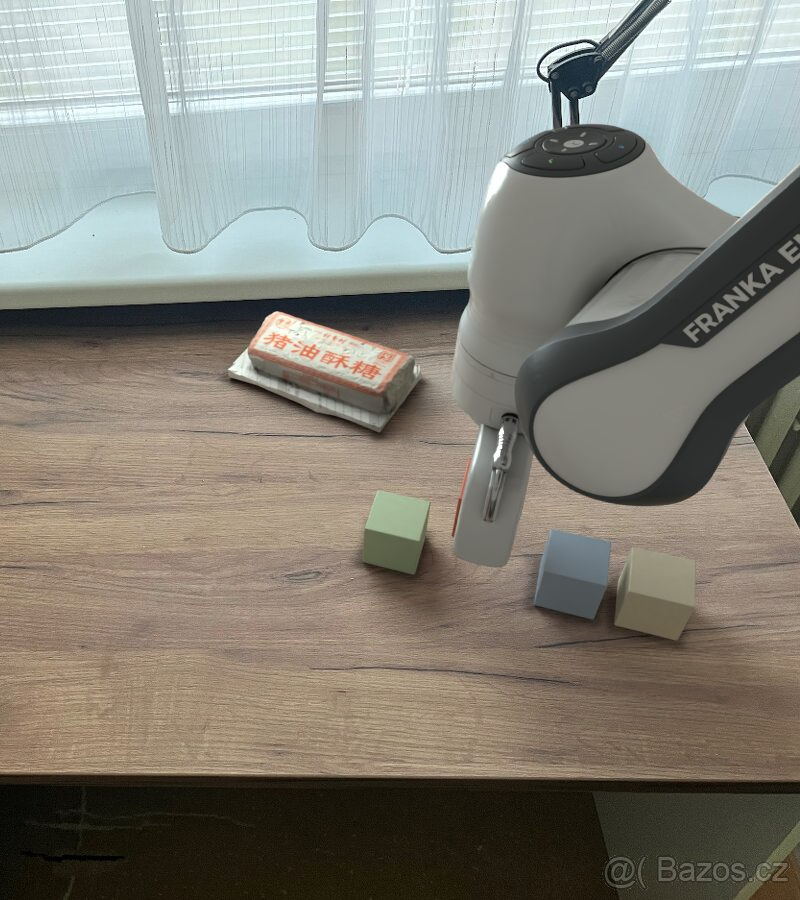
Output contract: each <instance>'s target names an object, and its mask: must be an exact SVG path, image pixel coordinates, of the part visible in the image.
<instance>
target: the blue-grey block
mask: <svg viewBox="0 0 800 900" xmlns="http://www.w3.org/2000/svg"><path fill="white" fill-rule="evenodd" d="M611 548H612V541H610V540H604V539H600V538H595V537H590V536H586V535H581V534H577V533H573V532H569V531H564V530H560V529H555V528H550V530H549V533H548V536H547V540H546V544H545V547H544V550H543V553H542V557H541V560H540V563H539V569H538V575H537V576H538V577H537V581H536V587H535V588H536V589H535V593H534V595H535V596H534V600H533V605H534V606H536V607H540V608H544V609H548V610H552V611H556V612H560V613H564V614H568V615H572V616H576V617H580V618H584V619H587V620H594V619H595V617H596V614H597V612H598V609H599V607H600V605H601V602H602V601H603V598H604V595H605V594H606V593H605V592H606V591H607V587H608V582H609V581H608V580H609V571H610V562H611V561H610V560H611V550H612V549H611Z"/></svg>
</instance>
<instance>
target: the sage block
mask: <svg viewBox="0 0 800 900" xmlns="http://www.w3.org/2000/svg"><path fill="white" fill-rule="evenodd" d="M431 504H432V503H431V501H428V500H424V499H419V498H415V497H411V496H407V495H402V494H398V493H392V492H390V491H389V492H388V491H384V490H379V489H378V490H377V491H376V493H375V496H374V500H373V502H372V506H371V509H370V512H369V514H368V517H367V520H366V523H365V526H364V531H363V532H364V533H363V545H362V560H361V561H362V563H365V564H368V565H373V566H377V567H381V568H385V569H390V570H392V571H397V572H401V573H404V574H405V573H406V574H408V575H412V576H415V575H416V572H417V569H418V565H419V562H420V558H421V554H422V551H423V547H424V543H425V541H426V540H425V539H426V536H427V531H428V523H429V517H430V511H431Z"/></svg>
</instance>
